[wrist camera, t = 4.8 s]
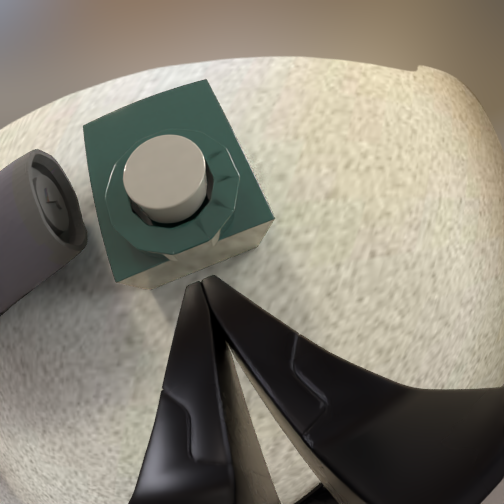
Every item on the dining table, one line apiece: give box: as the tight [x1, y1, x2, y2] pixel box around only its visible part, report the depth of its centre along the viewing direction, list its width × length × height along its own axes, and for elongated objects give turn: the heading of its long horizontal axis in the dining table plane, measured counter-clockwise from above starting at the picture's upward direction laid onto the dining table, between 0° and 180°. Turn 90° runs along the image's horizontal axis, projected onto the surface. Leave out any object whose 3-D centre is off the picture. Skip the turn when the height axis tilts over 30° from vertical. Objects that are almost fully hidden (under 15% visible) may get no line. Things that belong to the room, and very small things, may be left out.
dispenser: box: [83, 79, 275, 290], centre depth 17 cm, size 11×9×9 cm
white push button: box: [123, 135, 207, 223], centre depth 12 cm, size 4×4×2 cm
